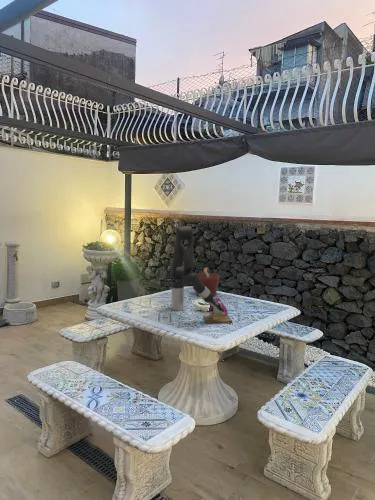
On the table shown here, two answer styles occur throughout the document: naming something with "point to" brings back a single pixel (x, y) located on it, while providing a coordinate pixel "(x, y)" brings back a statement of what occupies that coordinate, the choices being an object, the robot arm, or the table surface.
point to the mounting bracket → (222, 306)
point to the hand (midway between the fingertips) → (219, 309)
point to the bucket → (209, 281)
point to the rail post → (217, 311)
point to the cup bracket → (217, 318)
